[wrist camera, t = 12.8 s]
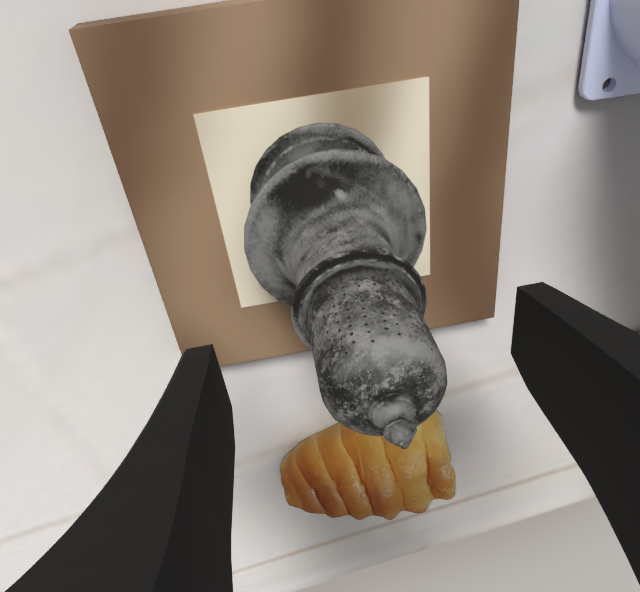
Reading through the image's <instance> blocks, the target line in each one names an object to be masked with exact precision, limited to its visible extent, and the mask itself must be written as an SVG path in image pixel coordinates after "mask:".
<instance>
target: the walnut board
mask: <svg viewBox="0 0 640 592" xmlns="http://www.w3.org/2000/svg"><path fill="white" fill-rule="evenodd" d="M518 9H519V0H230V1H223V2H217V3H210V4H203V5H197V6H190V7H184V8H177V9H171V10H164V11H157V12H151V13H144V14H138V15H131V16H125V17H118V18H111V19H105V20H98V21H92V22H85V23H79V24H76V25H75V26H74V27H72V28H71V29H69V32H70V35H71V38H72V41H73V44H74V47H75V50H76V52H77V55H78V58H79V61H80V64H81V67H82V70H83V72H84V75H85V78H86V81H87V84H88V87H89V90H90V93H91V95H92V98H93V101H94V104H95V107H96V110H97V113H98V116H99V118H100V121H101V124H102V127H103V130H104V133H105V136H106V139H107V141H108V144H109V147H110V150H111V153H112V156H113V159H114V161H115V164H116V167H117V170H118V173H119V176H120V179H121V182H122V184H123V187H124V190H125V193H126V196H127V199H128V202H129V205H130V207H131V210H132V213H133V216H134V219H135V222H136V225H137V228H138V230H139V233H140V236H141V239H142V242H143V245H144V248H145V250H146V253H147V256H148V259H149V262H150V265H151V268H152V271H153V273H154V276H155V279H156V282H157V285H158V288H159V291H160V294H161V296H162V299H163V302H164V305H165V308H166V311H167V314H168V317H169V319H170V322H171V325H172V328H173V331H174V334H175V337H176V339H177V342H178V345H179V348H180V351H181V354H183V353H184V351H185V350H186V349H189V348H194V347H199V346H205V345H210V344H213V347H214V350H215V353H216V356H217V360H218V363H219V366H225V365H231V364H236V363H242V362H248V361H253V360H259V359H264V358H270V357H275V356H281V355H287V354H292V353H298V352H303V351H309V350H311V349H310V348H309V347H307V346H306V345H305V344H304V343H303V342H302V341H301V339H300V338H299V336H298V335H297V334H296V332H295V330H294V326H293V323H292V319H291V307H290V306H288V305H286V304H284V303H282V302H280V301H278V300H276V299H275V298H274V297H273V296H272V295H271V294H269V293H268V292H267V291H266V290H265V289H263V288H262V287H261V285H260V284H259V282H258V281H257V279H256V278H255V276H254V275H253V273H252V272H251V270H250V267H249V264H248V261H247V258H246V254H245V251H244V225H245V222H246V219H247V216H248V212H249V209H250V206H251V204H250V183H251V180H252V176H253V173H254V170H255V166H256V165H257V163H258V161H259V160H260V158H261V157H262V155H263V154H264V152H265V150H266V149H267V148H268V147H269V146H271V145H272V144H273V143H274V142H275V141H276V140H277V139H278V138H279V137H280V136H282V135H284V134H286V133H288V132H290V131H292V130H294V129H296V128H298V127H301V126H306V125H310V124H314V123H337V124H341V125H344V126H347V127H350V128H353V129H356V130H357V131H359V132H360V133H362V134H363V135H365V136H366V137H368V138H369V139H371V140H372V141H373V143H374V144H375V145H376V146H377V147H378V149H379V150H380V151H381V152H382V153H383V155H384V157H385V159H386V160H388V161H389V162H391V163H392V164H394V165H395V166H397V167H398V168H400V169H401V170H402V171H403V172H404V173H405V174H406V176H407V177H408V178H409V179H410V180H411V182H412V183H413V184H414V185H415V187H416V188H417V190H418V192H419V195H420V197H421V200H422V202H423V205H424V207H425V216H426V228H427V230H426V235H425V240H424V245H423V249H422V252H421V254H420V256H419V258H418V260H417V262H416V264H415V266H414V269H415V270H416V271H417V272H418V273H419V275H420V277H421V279H422V281H423V283H424V286H425V288H426V297H427V304H426V309H425V314H424V317H423V318H424V320H425V322H426V324H427V326H428V328H429V329H431V328H437V327H442V326H448V325H453V324H459V323H464V322H470V321H475V320H481V319H487V318H492V317H494V312H495V299H496V287H497V274H498V261H499V249H500V236H501V224H502V211H503V198H504V186H505V173H506V160H507V148H508V135H509V122H510V110H511V97H512V85H513V72H514V59H515V47H516V34H517V21H518Z"/></svg>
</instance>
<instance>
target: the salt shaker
mask: <svg viewBox="0 0 640 592" xmlns="http://www.w3.org/2000/svg"><path fill="white" fill-rule="evenodd" d="M250 204H251V206H250V209H249V212H248V216H247V219H246V222H245V225H244V251H245V254H246V258H247V261H248V264H249V267H250V270H251V272H252V273H253V275H254V276H255V278H256V279H257V281H258V282H259V284H260V285H261V287H262V288H263V289H265V290H266V291H267V292H268V293H269V294H271V295H272V296H273V297H274V298H275V299H276V300H278V301H280V302H282V303H284V304H286V305H288V306H290V307H291V319H292V323H293V326H294V330H295V332H296V334H297V335H298V336H299V338H300V339H301V341H302V342H303V343H304V344H305V345H306V346H307V347H309V348H310V349H311V350H312V351H313V356H314V362H315V367H316V372H317V377H318V383H319V388H320V392H321V396H322V399H323V402H324V404H325V406H326V408H327V409H328V411H329V412H330V414H331V415H332V416H333V418H334V419H335V420H337V421H338V422H339V423H341V424H342V425H343V426H345V427H347V428H349V429H351V430H353V431H355V432H358V433H361V434H363V435H370V436H384V439H385V440H386V441H388V442H389V443H393V444H394V445H395V446H398V447H401V448H402V449H407V448H408V447H409V444H410V443H411V442H412V440H413V437H414V436H415V434H416V432H417V428H416V427H417V426H418V425H420V424H421V423H423V422H425V421H426V420H427V419H428V418H429V417H430V416H431V415H432V414H433V413H434V412H435V410H436V409H437V407H438V406H439V404H440V402H441V400H442V398H443V396H444V394H445V390H446V386H447V374H446V366H445V361H444V359H443V357H442V355H441V353H440V351H439V349H438V347H437V345H436V342H435V340H434V338H433V336H432V334H431V332H430V330H429V328H428V326H427V324H426V322H425V320H424V318H423V317H424V314H425V309H426V304H427V297H426V288H425V286H424V283H423V281H422V279H421V277H420V275H419V273H418V272H417V271H416V270H415V269H414V266H415V264H416V262H417V260H418V258H419V256H420V254H421V252H422V249H423V245H424V240H425V235H426V230H427V228H426V216H425V207H424V205H423V202H422V200H421V197H420V195H419V192H418V190H417V188H416V187H415V185H414V184H413V183H412V182H411V180H410V179H409V178H408V177H407V176H406V174H405V173H404V172H403V171H402V170H401V169H400V168H398V167H397V166H395V165H394V164H392V163H391V162H389V161H388V160H386V159H385V157H384V155H383V153H382V152H381V151H380V150H379V149H378V147H377V146H376V145H375V144H374V143H373V141H372V140H371V139H369V138H368V137H366V136H365V135H363V134H362V133H360V132H359V131H357V130H356V129H353V128H350V127H347V126H344V125H341V124H337V123H314V124H310V125H306V126H301V127H298V128H296V129H294V130H292V131H290V132H288V133H286V134H284V135H282V136H280V137H279V138H278V139H277V140H276V141H275V142H274V143H273V144H272V145H271V146H269V147H268V148H267V149H266V150H265V152H264V154H263V155H262V157H261V158H260V160H259V161H258V163H257V165H256V166H255V170H254V173H253V176H252V180H251V183H250Z"/></svg>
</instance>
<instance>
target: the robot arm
mask: <svg viewBox="0 0 640 592" xmlns="http://www.w3.org/2000/svg"><path fill="white" fill-rule="evenodd" d="M608 78H610V83H609V85H608V86H607V88H605V89H602V86H603V83H604V82H605V81H606V80H607V79H608ZM578 92H579V94H580V96H581V97H583V98H585V99H587V100H589V101H594V100H600V99H607V98H613V97H619V96H625V95H631V94H637V93H640V0H591V3H590V10H589V17H588V24H587V30H586V37H585V44H584V51H583V58H582V65H581V72H580V78H579V85H578ZM511 354H512V357H513V359H514V361H515V363H516V365H517V367H518V370H519V372H520V374H521V376H522V378H523V380H524V382H525V384H526V386H527V388H528V390H529V391H530V393H531V394H532V396H533V397H534V399H535V401H536V402H537V404H538V405H539V407H540V408H541V410H542V411H543V413H544V414H545V416H546V417H547V419H548V420H549V422H550V423H551V425H552V426H553V428H554V429H555V431H556V432H557V434H558V435H559V437H560V438H561V440H562V441H563V443H564V444H565V446H566V447H567V449H568V450H569V452H570V453H571V455H572V456H573V458H574V459H575V461H576V462H577V464H578V465H579V467H580V469H581V470H582V472H583V474H584V475H585V477H586V478H587V480H588V482H589V484H590V485H591V487H592V489H593V491H594V493H595V495H596V497H597V499H598V501H599V503H600V504H601V506H602V508H603V510H604V512H605V514H606V516H607V518H608V520H609V522H610V524H611V526H612V528H613V530H614V532H615V534H616V536H617V538H618V540H619V542H620V544H621V546H622V548H623V550H624V552H625V554H626V556H627V558H628V560H629V563H630V565H631V567H632V569H633V571H634V573H635V576H636V578H637V580H638V582H639V584H640V334H639V333H637V332H635V331H633V330H631V329H629V328H627V327H625V326H623V325H621V324H619V323H617V322H615V321H613V320H612V319H610V318H608V317H606V316H604V315H602V314H600V313H599V312H597V311H595V310H593V309H591V308H590V307H588V306H586V305H584V304H582V303H581V302H579V301H577V300H575V299H573V298H572V297H570V296H568V295H566V294H564V293H563V292H561V291H559V290H557V289H555V288H553V287H551V286H549V285H547V284H545V283H543V282H540V283H535V284H530V285H524V286H519V287H517V294H516V304H515V314H514V325H513V335H512V345H511ZM234 460H235V439H234V425H233V413H232V405H231V402H230V399H229V395H228V392H227V389H226V386H225V382H224V379H223V376H222V373H221V369H220V366H219V363H218V360H217V356H216V353H215V350H214V347H213V344H210V345H205V346H199V347H194V348H189V349H186V350H185V351H184V353H183V354H182V356H181V359H180V361H179V363H178V365H177V367H176V369H175V371H174V374H173V376H172V378H171V380H170V382H169V384H168V386H167V388H166V390H165V392H164V393H163V395H162V397H161V399H160V401H159V403H158V404H157V406H156V408H155V410H154V412H153V414H152V415H151V417H150V419H149V421H148V422H147V424H146V426H145V427H144V429H143V431H142V432H141V434H140V435H139V437H138V439H137V440H136V442H135V443H134V445H133V447H132V448H131V450H130V451H129V453H128V454H127V456H126V457H125V459H124V460H123V462H122V463H121V464H120V466H119V467H118V469H117V470H116V471H115V473H114V474H113V476H112V477H111V478H110V480H109V481H108V482H107V484H106V485H105V486H104V488H103V489H102V490H101V491H100V493H99V494H98V495H97V496H96V498H95V499H94V500H93V501H92V502H91V504H90V505H89V506H88V507H87V508H86V510H85V511H84V512H83V513H82V514H81V515H80V517H79V518H78V519H77V520H76V521H75V522H74V524H73V525H72V526H71V527H70V528H69V529H68V530H67V531H66V533H65V534H64V535H63V536H62V537H61V538H60V539H59V540H58V541H57V542H56V543H55V544H54V545H53V546H52V547H51V548H50V549H49V550H48V551H47V552H46V553H45V554H44V555H43V556H42V557H41V558H40V559H39V560H38V561H37V562H36V563H35V564H34V565H33V566H32V567H31V568H30V569H29V570H28V571H27V572H26V573H25V574H24V575H23V576H22V577H21V578H20V579H18V580H17V581H16V582H15V583H14V584H13V585H12V586H11V587H10V588H8V589H7V590H6V591H5V592H233V583H232V565H231V527H232V505H233V484H234Z"/></svg>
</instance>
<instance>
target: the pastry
mask: <svg viewBox="0 0 640 592" xmlns="http://www.w3.org/2000/svg"><path fill="white" fill-rule="evenodd" d="M416 428H417V432H416V434H415V436H414V437H413V440H412V442H411V443H410V444H409V447H408V448H407V449H402V448H401V447H398V446H395V445H394V444H393V443H389V442H388V441H386V440H385V439H384V436H370V435H363V434H361V433H358V432H355V431H353V430H351V429H349V428H347V427H345V426H343V425H342V424H341V423H337V424H335V425H333V426H331V427H329V428H327V429H324V430H322V431H320V432H318V433H316V434H314V435H312V436H310V437H308V438H306V439H304V440H303V441H301V442H300V443H299V444H298V445H297V446H296V447H295V448H294V449H293V450H292V451H290V452H289V453H287V454H286V455H285V457H284V459H283V461H282V463H281V466H280V474H281V481H282V485H283V487H284V490H285V496H286V500H287V502H288V504H289V505H290V506H294V507H297V508H300V509H302V510H304V511H306V512H310V513H318V514H327V515H328V516H330V517H332V518H335V517H341V516H344V515H350V516H352V517H354V518H356V519H358V520H361V519H363V518H366V517H368V516H370V515H375V516H381V517H384V518H385V519H388V520H392V519H393V518H395V517H396V516H397V514H398V513H399V512H400V511H402V510H404V511H410V512H414V513H423V512H425V511H426V510H427V508H428V506H429V504H430V503H431V501H432V500H433V499H446V500H448V499H451V498H452V497H454V496H455V494H456V493H455V489H456V484H455V472H454V469H453V467H452V465H451V455H450V453H449V450H448V445H447V440H446V434H445V430H444V422H443V415H442V414H441V413H439V412H438V411H436V410H435V412H434V413H433V414H432V415H431V416H430V417H429V418H428V419H427V420H426V421H425V422H423V423H421V424H420V425H418V426H417V427H416Z"/></svg>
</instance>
